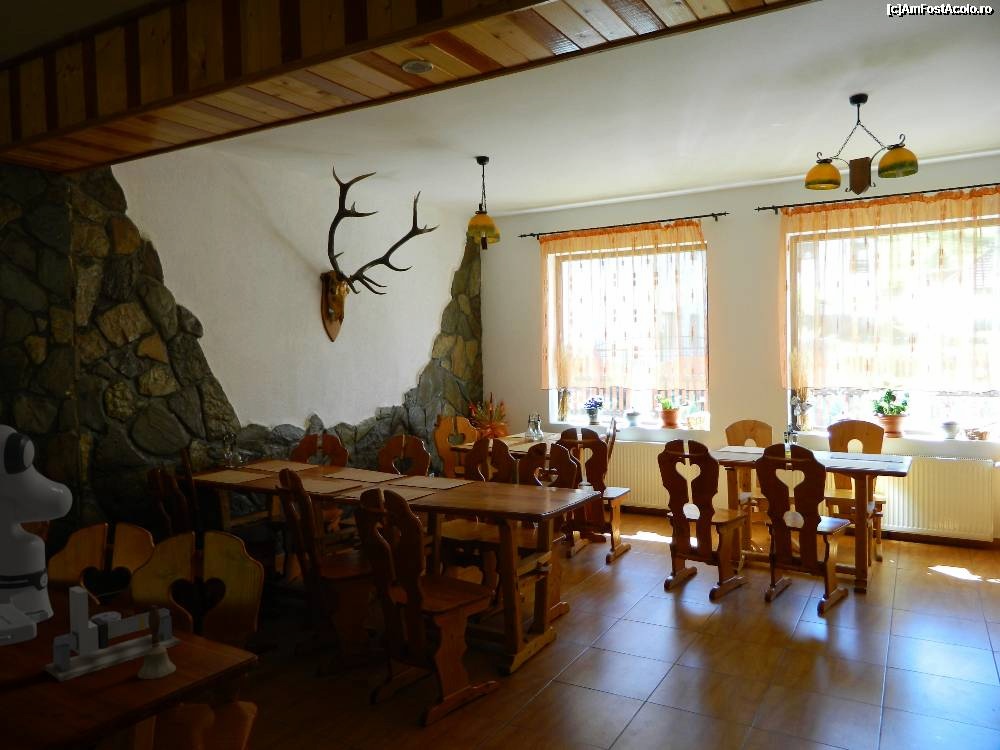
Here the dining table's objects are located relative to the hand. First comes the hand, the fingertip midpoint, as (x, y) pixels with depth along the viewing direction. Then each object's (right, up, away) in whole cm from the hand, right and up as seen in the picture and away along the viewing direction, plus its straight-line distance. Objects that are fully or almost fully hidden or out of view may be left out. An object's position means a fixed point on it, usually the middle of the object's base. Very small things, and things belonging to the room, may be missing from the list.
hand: (46, 613), depth 170 cm
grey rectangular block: (+5, -11, +6) cm, 14 cm away
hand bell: (+25, -15, +3) cm, 29 cm away
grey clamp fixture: (+10, -13, +12) cm, 20 cm away
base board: (+10, -15, +12) cm, 21 cm away
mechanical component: (-2, -15, +29) cm, 33 cm away
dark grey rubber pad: (+8, -11, +9) cm, 16 cm away
